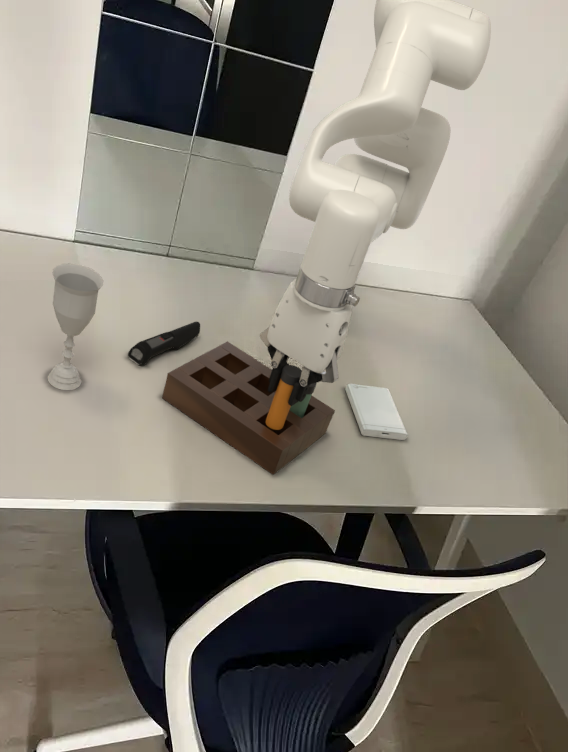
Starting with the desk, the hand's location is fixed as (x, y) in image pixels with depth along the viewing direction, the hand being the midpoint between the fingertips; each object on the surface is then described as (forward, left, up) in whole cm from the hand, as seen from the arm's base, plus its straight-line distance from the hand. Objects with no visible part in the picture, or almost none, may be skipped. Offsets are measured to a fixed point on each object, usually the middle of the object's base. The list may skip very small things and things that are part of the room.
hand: (284, 394), depth 116 cm
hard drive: (-23, +7, -11) cm, 27 cm away
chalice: (+14, -30, -11) cm, 34 cm away
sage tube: (-7, 0, -10) cm, 12 cm away
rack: (-3, -7, -10) cm, 13 cm away
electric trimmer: (-6, -27, -11) cm, 29 cm away
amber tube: (0, 0, -6) cm, 6 cm away
